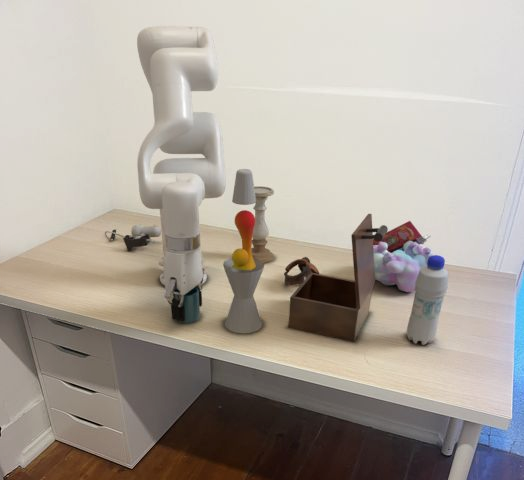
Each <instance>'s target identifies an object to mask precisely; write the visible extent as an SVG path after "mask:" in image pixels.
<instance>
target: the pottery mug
mask: <svg viewBox="0 0 524 480" xmlns="http://www.w3.org/2000/svg"><path fill="white" fill-rule="evenodd" d="M295 267H298V269H299V271H300V272H299V273H298V274H294V275H289V272H290V271H292V269H294V268H295ZM284 270H285V271H284V273H283V276H284V284H285V285H286V286H287V285H288V286H297V285H301V284H302V283H303V281H304V280H305V279H306V278H307V277H308V275H309V274H310V273H316V274H320V271H319V269H318V268H317V267H316V265H315V264H313V263H311V260H310V258H309V257H307V256H303V257H302V258H298V259H295V260H293V261H291V262H290V263H289V264H287V266H286V267H285V269H284Z"/></svg>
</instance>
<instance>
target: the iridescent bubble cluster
mask: <svg viewBox="0 0 524 480" xmlns="http://www.w3.org/2000/svg"><path fill="white" fill-rule="evenodd" d="M429 238H431V235H428V234H425V235H422V234H421V233H420V232H419V231H418V229H417V228H416V226H415V225H414V224H413V222H412V221H411V220H408V221H406V222H404V223H403V224H400V225H399V226H396V227H395V228H393V229H390V230H388V231H387V233H386V234H385V236H384V237H383V239H382V240H381V241H379V242H378V241H376V240H375V239H373V251H374V270H375V281H378V282H380V283H381V284H382V285H383V286H394V285H396V286H397V289H398V290H400V291H402V292H403V293H404V292H405V293H412V292H414V291H415V282H416V279H417V276H418V273H419V270H420V269H421V268H422V267H424V266H427V262H428V259H429V257H430V256H433V255H434V254H433V253H431V252H432V249H431V248H430V247H429V246H426V247H423V246H422V245H425V243H426V242H427V240H428V239H429Z"/></svg>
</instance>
